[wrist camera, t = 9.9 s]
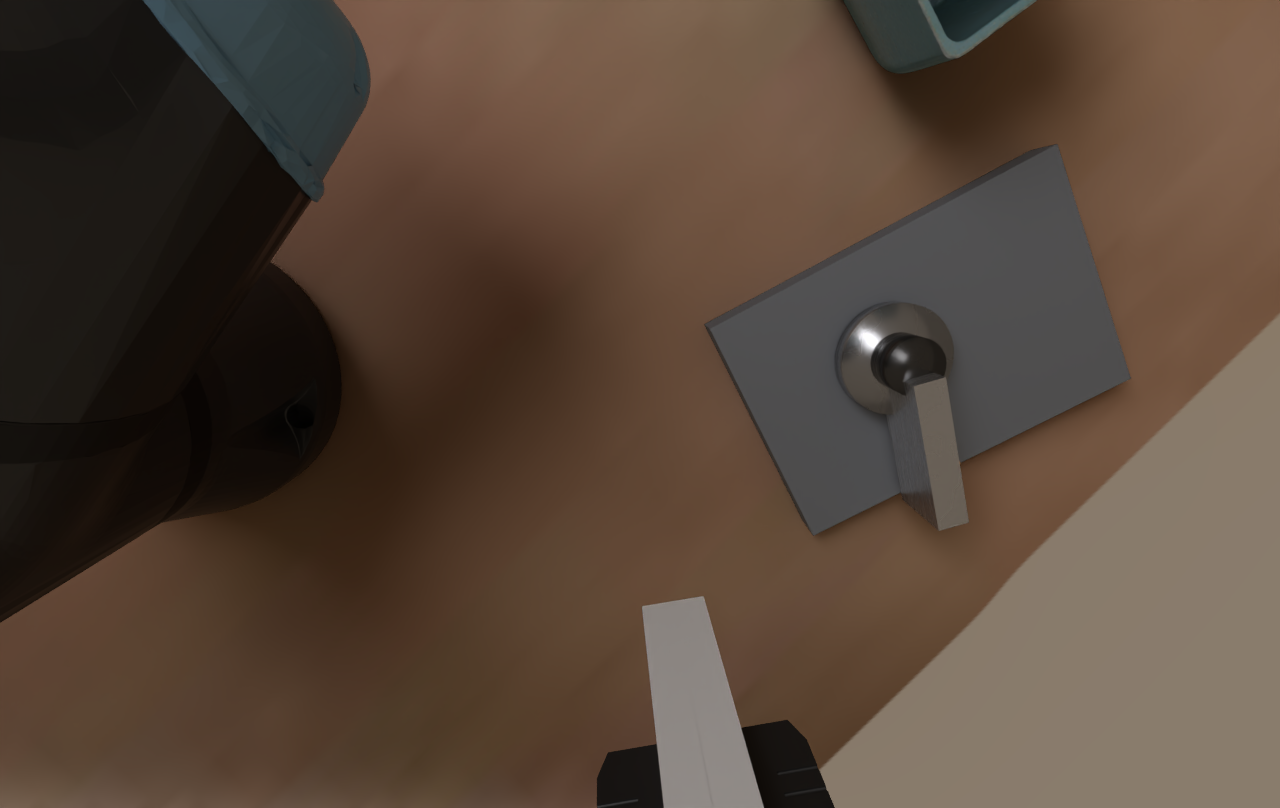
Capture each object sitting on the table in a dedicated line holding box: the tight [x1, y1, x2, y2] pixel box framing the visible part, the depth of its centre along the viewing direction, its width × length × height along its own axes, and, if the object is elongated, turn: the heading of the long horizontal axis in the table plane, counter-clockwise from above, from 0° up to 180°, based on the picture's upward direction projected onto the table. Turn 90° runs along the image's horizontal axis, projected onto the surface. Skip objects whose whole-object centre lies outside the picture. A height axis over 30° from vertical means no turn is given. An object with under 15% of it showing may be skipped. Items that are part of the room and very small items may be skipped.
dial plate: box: [704, 144, 1131, 536], centre depth 34 cm, size 14×20×2 cm
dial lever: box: [834, 301, 969, 531], centre depth 32 cm, size 12×6×4 cm, turn 16°
